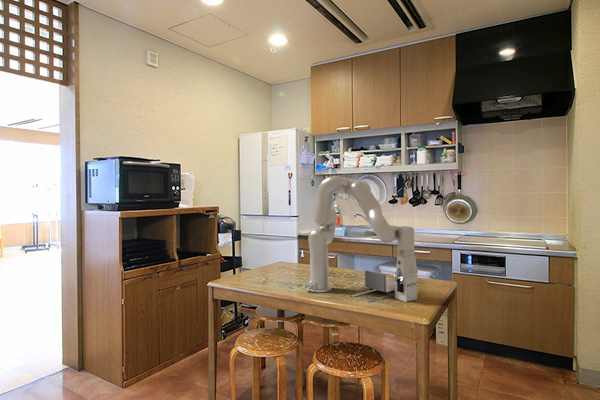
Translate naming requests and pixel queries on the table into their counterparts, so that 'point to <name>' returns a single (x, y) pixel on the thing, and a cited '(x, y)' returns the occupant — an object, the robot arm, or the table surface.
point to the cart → (379, 282)
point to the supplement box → (408, 288)
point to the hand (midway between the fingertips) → (406, 290)
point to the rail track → (373, 298)
